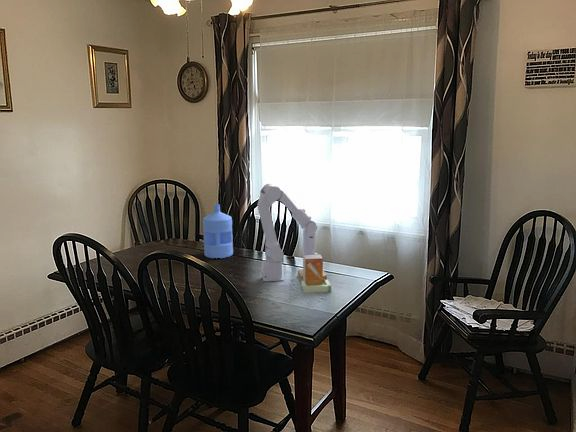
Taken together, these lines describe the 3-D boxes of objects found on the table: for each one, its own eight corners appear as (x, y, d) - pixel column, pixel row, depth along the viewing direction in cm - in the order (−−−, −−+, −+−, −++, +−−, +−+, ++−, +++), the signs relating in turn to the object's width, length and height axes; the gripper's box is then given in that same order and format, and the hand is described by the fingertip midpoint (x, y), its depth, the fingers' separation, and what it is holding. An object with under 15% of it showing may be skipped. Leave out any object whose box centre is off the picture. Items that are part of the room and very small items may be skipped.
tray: (303, 292, 211) (303, 287, 210) (301, 286, 219) (301, 280, 218) (331, 291, 212) (331, 285, 212) (327, 285, 220) (327, 279, 219)
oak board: (301, 283, 224) (301, 276, 223) (297, 275, 233) (297, 269, 233) (326, 281, 225) (326, 275, 225) (322, 274, 235) (322, 268, 234)
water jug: (205, 251, 275) (202, 202, 269) (233, 250, 277) (231, 201, 271) (203, 259, 260) (201, 207, 254) (233, 258, 262) (231, 206, 256)
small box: (305, 287, 218) (305, 258, 215) (302, 282, 224) (302, 254, 221) (323, 286, 219) (323, 258, 216) (320, 281, 225) (320, 254, 222)
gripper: (320, 248, 226) (320, 276, 228) (314, 240, 240) (314, 267, 242) (304, 249, 225) (305, 277, 228) (300, 241, 239) (300, 267, 242)
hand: (309, 272), depth 235 cm, fingers closed
